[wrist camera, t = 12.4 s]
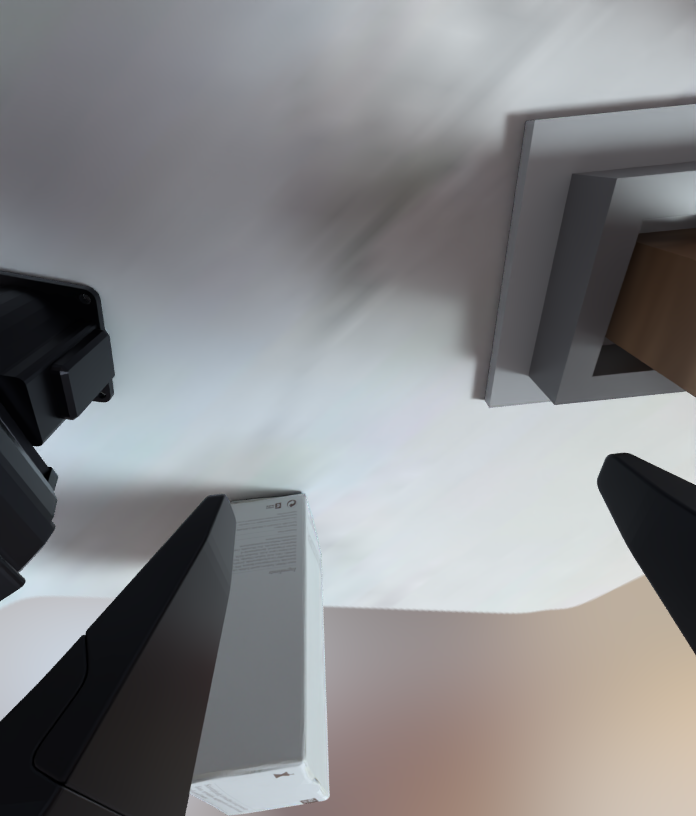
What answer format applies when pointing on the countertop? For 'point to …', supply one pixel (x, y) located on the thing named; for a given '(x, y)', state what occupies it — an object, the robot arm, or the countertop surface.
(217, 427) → the countertop surface
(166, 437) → the countertop surface
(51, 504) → the robot arm
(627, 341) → the walnut peg
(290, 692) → the skincare box
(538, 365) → the socket
